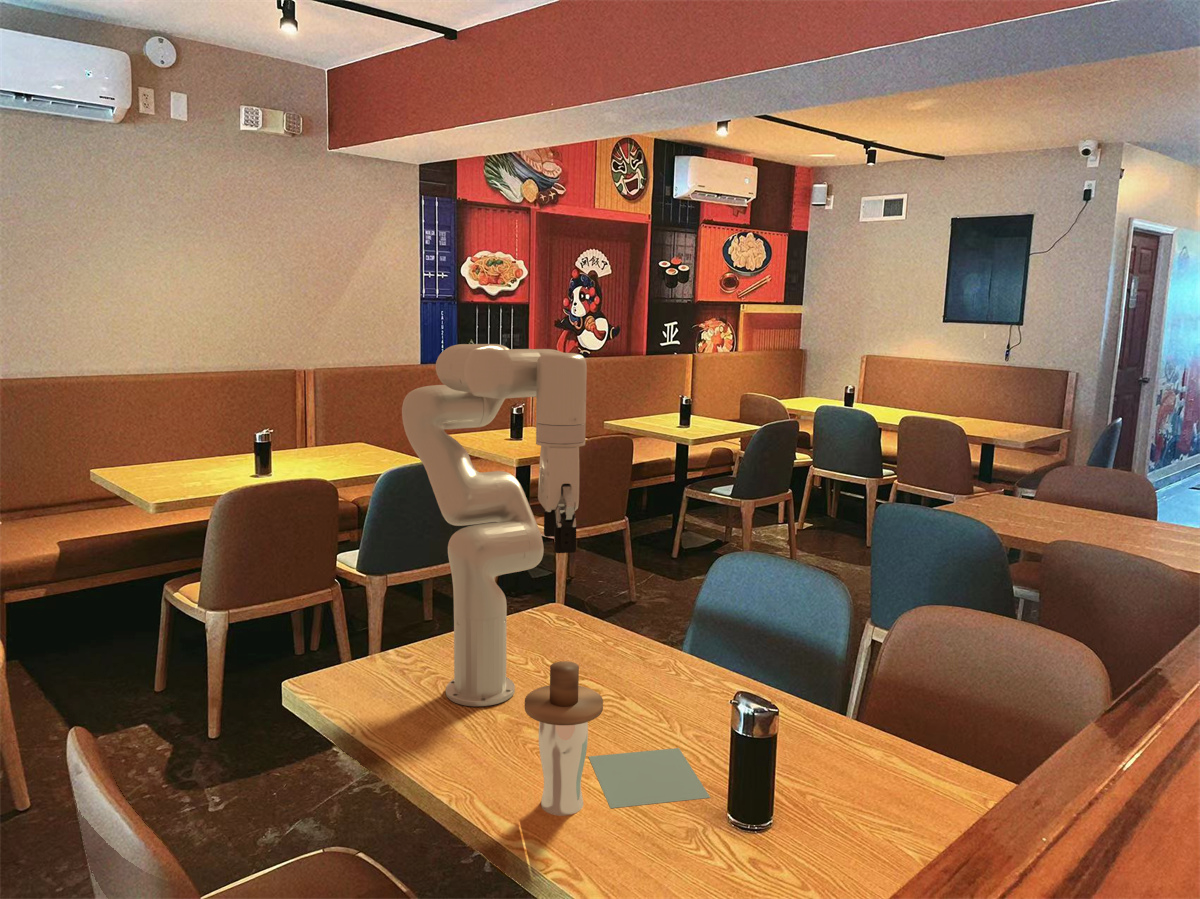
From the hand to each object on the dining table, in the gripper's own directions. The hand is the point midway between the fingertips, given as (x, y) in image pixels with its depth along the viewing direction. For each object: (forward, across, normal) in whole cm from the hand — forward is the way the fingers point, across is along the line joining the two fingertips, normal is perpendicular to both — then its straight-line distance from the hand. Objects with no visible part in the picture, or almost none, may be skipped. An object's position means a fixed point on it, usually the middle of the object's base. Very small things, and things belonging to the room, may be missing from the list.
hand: (559, 543), depth 138 cm
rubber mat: (+34, +11, +12) cm, 38 cm away
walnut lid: (+19, +16, -2) cm, 25 cm away
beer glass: (+34, +16, -2) cm, 38 cm away
